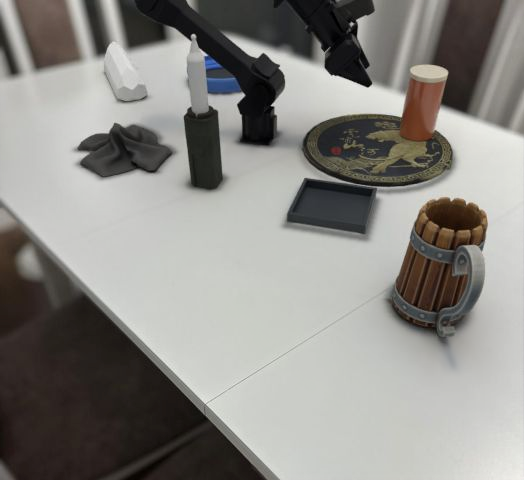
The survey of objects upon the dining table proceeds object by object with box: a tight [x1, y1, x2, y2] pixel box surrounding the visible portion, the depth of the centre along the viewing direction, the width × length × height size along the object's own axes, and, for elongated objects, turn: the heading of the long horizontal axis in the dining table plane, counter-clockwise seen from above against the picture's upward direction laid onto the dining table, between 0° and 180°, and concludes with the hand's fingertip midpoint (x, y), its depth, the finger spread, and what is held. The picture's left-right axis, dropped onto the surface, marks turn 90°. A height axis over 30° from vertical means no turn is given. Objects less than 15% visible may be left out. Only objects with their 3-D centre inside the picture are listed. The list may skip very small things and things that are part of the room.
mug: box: [391, 196, 489, 338], centre depth 69 cm, size 16×11×15 cm
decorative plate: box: [302, 113, 454, 188], centre depth 107 cm, size 30×2×30 cm
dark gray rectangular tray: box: [286, 177, 378, 234], centre depth 92 cm, size 13×12×2 cm
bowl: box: [186, 54, 242, 93], centre depth 133 cm, size 18×18×4 cm
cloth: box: [77, 122, 173, 177], centre depth 107 cm, size 22×19×6 cm
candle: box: [183, 34, 224, 190], centre depth 91 cm, size 5×5×25 cm
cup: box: [399, 64, 449, 141], centre depth 105 cm, size 7×7×12 cm
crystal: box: [103, 41, 149, 102], centre depth 131 cm, size 7×7×24 cm
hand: (369, 76), depth 100 cm, fingers open, 9 cm apart
